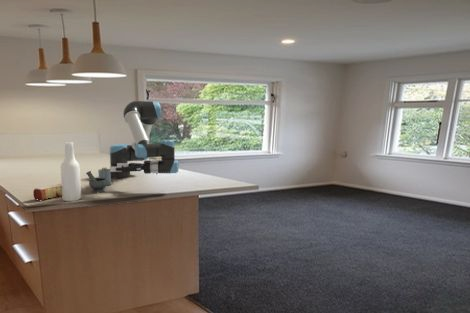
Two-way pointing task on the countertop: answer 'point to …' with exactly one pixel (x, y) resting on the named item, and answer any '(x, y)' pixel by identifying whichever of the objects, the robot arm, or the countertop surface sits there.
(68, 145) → the alcohol
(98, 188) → the mortar and pestle
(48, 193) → the snack package
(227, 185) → the countertop surface
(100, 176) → the glazed jar
